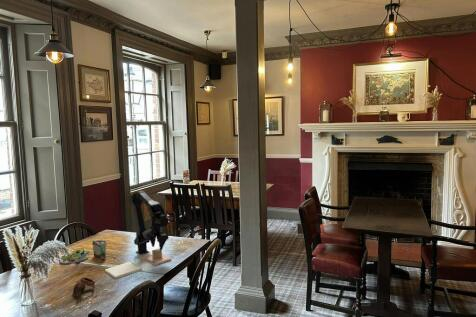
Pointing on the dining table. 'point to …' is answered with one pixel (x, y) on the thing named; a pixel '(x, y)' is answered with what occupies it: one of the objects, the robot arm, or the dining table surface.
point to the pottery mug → (82, 286)
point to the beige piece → (157, 257)
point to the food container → (99, 249)
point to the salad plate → (75, 256)
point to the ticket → (123, 269)
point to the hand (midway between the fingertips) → (157, 248)
